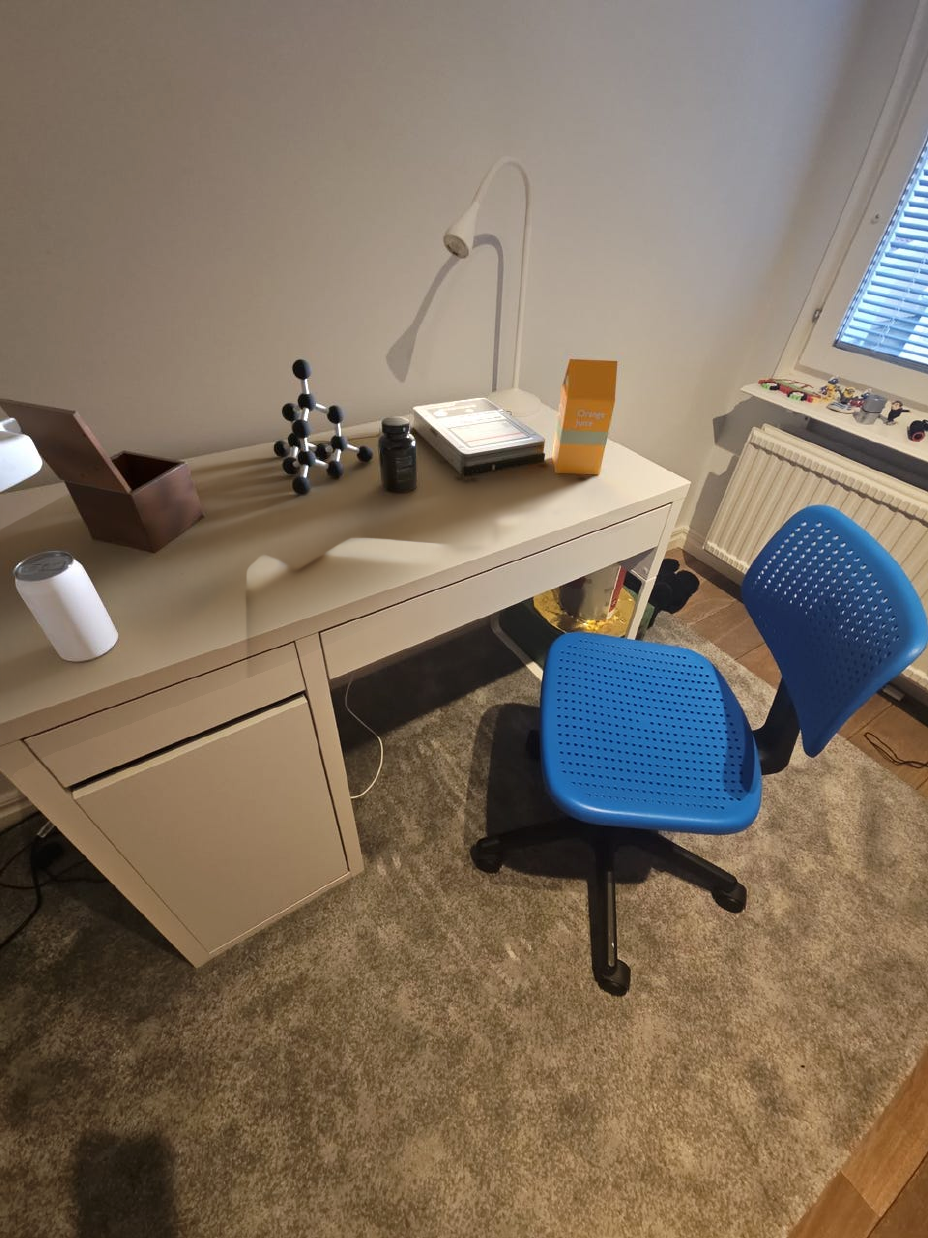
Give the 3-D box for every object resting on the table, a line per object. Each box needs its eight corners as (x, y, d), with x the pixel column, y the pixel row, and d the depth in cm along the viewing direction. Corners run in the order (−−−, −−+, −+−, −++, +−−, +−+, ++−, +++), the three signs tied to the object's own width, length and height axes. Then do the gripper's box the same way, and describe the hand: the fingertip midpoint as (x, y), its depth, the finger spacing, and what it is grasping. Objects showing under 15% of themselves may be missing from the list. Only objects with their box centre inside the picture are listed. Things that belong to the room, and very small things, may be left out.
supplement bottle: (420, 478, 103) (418, 415, 95) (414, 495, 98) (412, 429, 90) (384, 475, 103) (380, 412, 95) (376, 492, 98) (371, 427, 90)
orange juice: (599, 474, 106) (622, 367, 93) (555, 472, 106) (571, 365, 93) (593, 457, 112) (614, 354, 99) (551, 456, 112) (566, 352, 99)
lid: (0, 397, 67) (-5, 401, 67) (76, 410, 65) (72, 414, 65) (63, 476, 77) (59, 479, 77) (132, 490, 75) (128, 493, 74)
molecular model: (377, 461, 108) (368, 353, 95) (302, 499, 95) (280, 381, 82) (314, 439, 115) (298, 336, 102) (237, 472, 102) (207, 359, 89)
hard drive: (463, 476, 104) (464, 454, 101) (412, 426, 122) (411, 406, 119) (544, 461, 110) (547, 440, 107) (484, 416, 128) (485, 397, 125)
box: (145, 504, 92) (123, 450, 86) (204, 517, 90) (186, 461, 83) (91, 538, 84) (63, 480, 77) (155, 553, 81) (131, 494, 75)
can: (66, 632, 68) (17, 552, 60) (123, 623, 69) (83, 544, 61) (53, 668, 63) (-1, 587, 55) (115, 658, 65) (70, 577, 57)
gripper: (-169, 482, 58) (-42, 435, 68) (-23, 517, 54) (89, 461, 64) (-216, 424, 54) (-73, 383, 64) (-62, 456, 49) (65, 407, 60)
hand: (9, 422), depth 64 cm, fingers closed
